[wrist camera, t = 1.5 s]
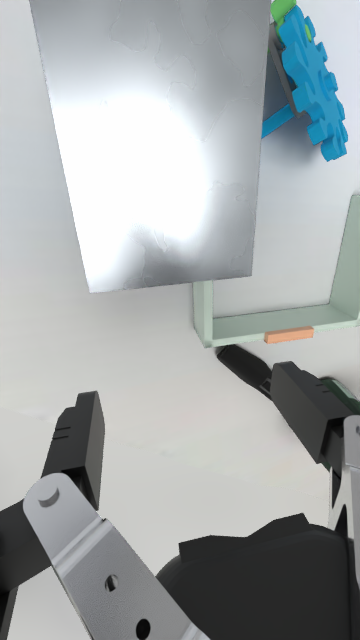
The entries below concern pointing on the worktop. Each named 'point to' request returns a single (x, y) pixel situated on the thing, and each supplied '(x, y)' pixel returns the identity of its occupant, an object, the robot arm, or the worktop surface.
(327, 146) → the gear
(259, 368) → the electric trimmer
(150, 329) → the worktop surface
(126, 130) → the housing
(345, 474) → the robot arm
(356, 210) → the bay
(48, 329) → the worktop surface
